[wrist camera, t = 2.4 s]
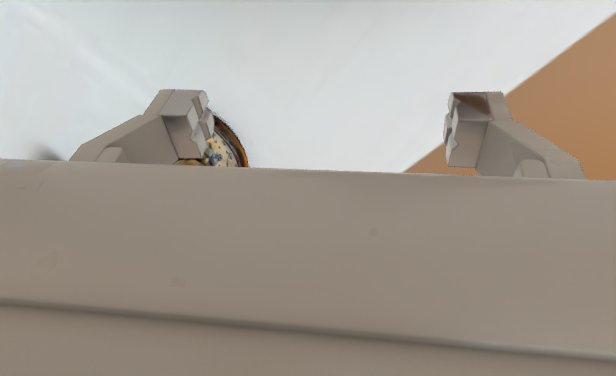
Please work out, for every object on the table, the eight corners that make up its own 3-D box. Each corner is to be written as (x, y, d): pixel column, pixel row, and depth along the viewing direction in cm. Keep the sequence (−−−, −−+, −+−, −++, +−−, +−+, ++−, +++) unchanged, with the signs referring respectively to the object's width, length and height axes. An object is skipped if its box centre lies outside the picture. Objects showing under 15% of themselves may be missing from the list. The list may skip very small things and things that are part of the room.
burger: (159, 85, 41) (108, 113, 35) (264, 142, 41) (231, 180, 35) (141, 173, 48) (96, 210, 42) (231, 222, 48) (199, 266, 42)
